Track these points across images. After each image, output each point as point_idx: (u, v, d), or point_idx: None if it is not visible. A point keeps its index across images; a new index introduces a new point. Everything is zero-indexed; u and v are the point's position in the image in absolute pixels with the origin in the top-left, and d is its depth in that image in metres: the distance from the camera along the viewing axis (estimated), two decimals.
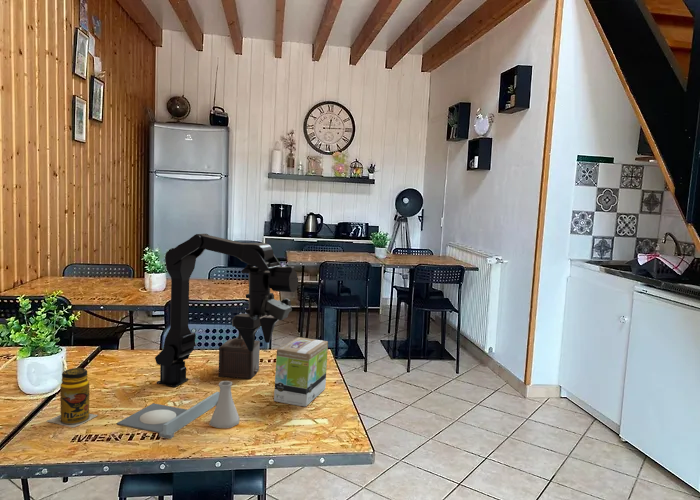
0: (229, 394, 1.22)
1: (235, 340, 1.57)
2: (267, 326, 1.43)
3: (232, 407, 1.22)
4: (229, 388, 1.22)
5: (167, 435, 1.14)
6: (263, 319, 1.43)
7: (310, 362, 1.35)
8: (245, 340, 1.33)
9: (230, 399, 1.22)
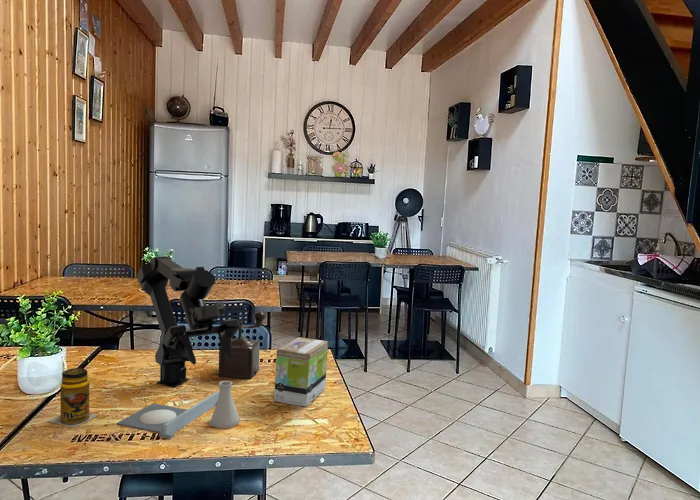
0: (229, 394, 1.22)
1: (235, 340, 1.57)
2: (224, 342, 1.33)
3: (232, 407, 1.22)
4: (229, 388, 1.22)
5: (167, 435, 1.14)
6: (221, 339, 1.35)
7: (310, 362, 1.35)
8: (186, 356, 1.26)
9: (230, 399, 1.22)
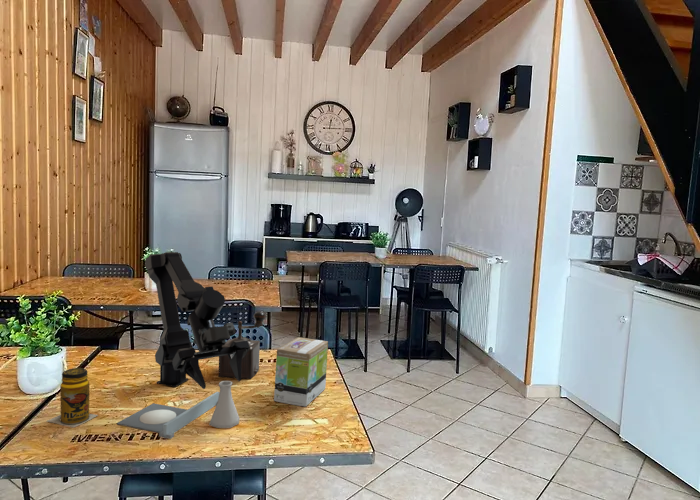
0: (229, 394, 1.22)
1: (235, 340, 1.57)
2: (234, 364, 1.29)
3: (232, 407, 1.22)
4: (229, 388, 1.22)
5: (167, 435, 1.14)
6: (231, 361, 1.31)
7: (310, 362, 1.35)
8: (195, 379, 1.22)
9: (230, 399, 1.22)
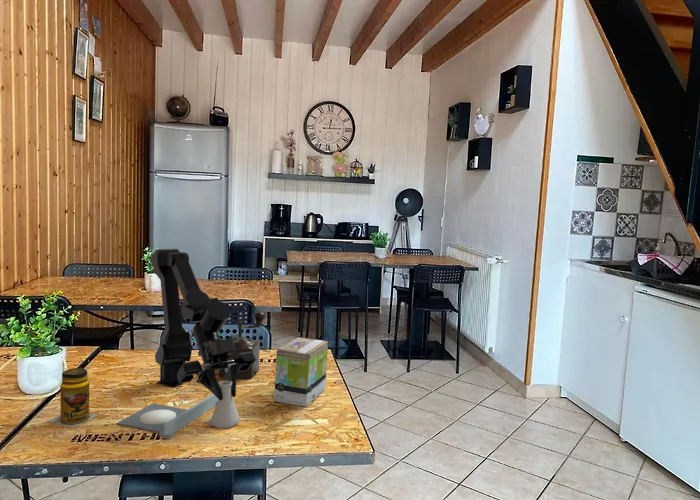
0: (229, 394, 1.22)
1: None
2: (229, 379, 1.25)
3: (232, 407, 1.22)
4: (229, 388, 1.22)
5: (167, 435, 1.14)
6: (226, 375, 1.27)
7: (310, 362, 1.35)
8: (212, 390, 1.22)
9: (230, 399, 1.22)
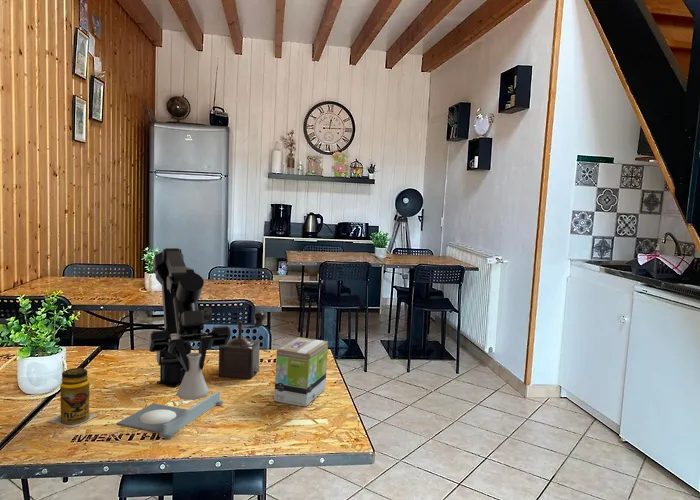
0: (196, 366, 1.21)
1: (235, 340, 1.57)
2: (200, 352, 1.24)
3: (199, 379, 1.21)
4: (196, 360, 1.21)
5: (167, 435, 1.14)
6: (199, 348, 1.26)
7: (310, 362, 1.35)
8: (180, 361, 1.22)
9: (197, 371, 1.21)
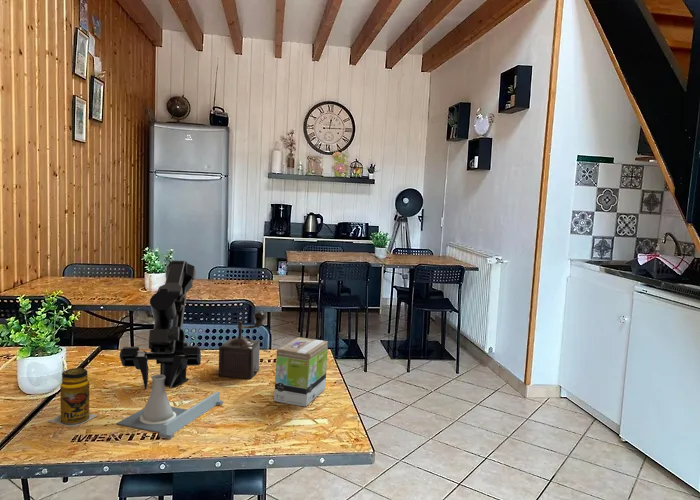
0: (159, 388, 1.23)
1: (235, 340, 1.57)
2: None
3: (161, 402, 1.22)
4: (159, 382, 1.23)
5: (167, 435, 1.14)
6: None
7: (310, 362, 1.35)
8: None
9: (160, 393, 1.23)
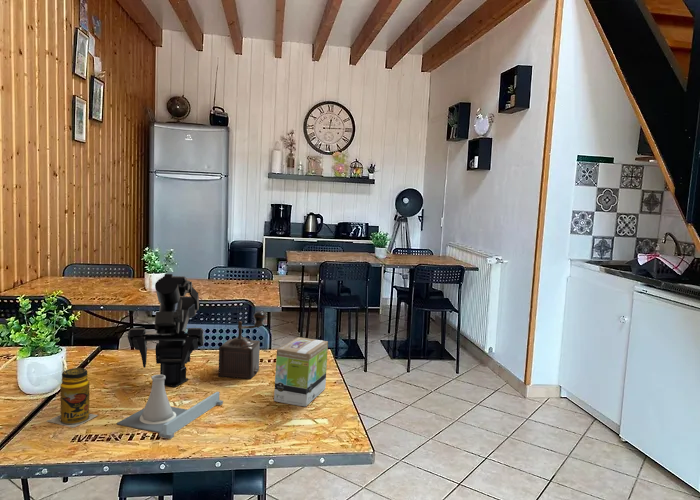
0: (159, 388, 1.23)
1: (235, 340, 1.57)
2: None
3: (161, 402, 1.22)
4: (159, 382, 1.23)
5: (167, 435, 1.14)
6: None
7: (310, 362, 1.35)
8: None
9: (160, 393, 1.23)
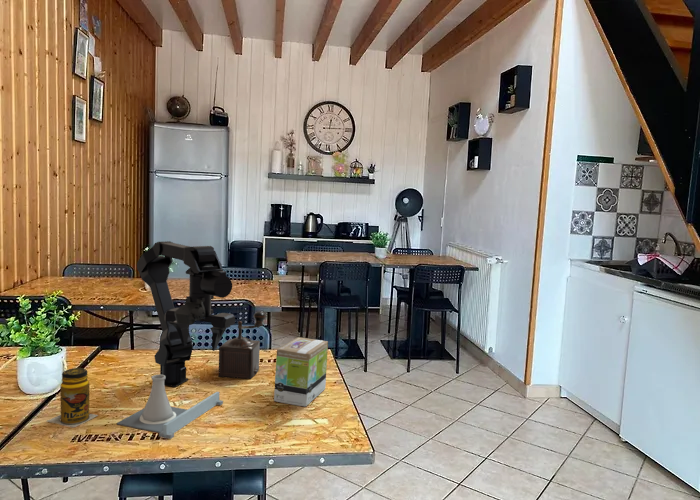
0: (159, 388, 1.23)
1: (235, 340, 1.57)
2: None
3: (161, 402, 1.22)
4: (159, 382, 1.23)
5: (167, 435, 1.14)
6: None
7: (310, 362, 1.35)
8: None
9: (160, 393, 1.23)
